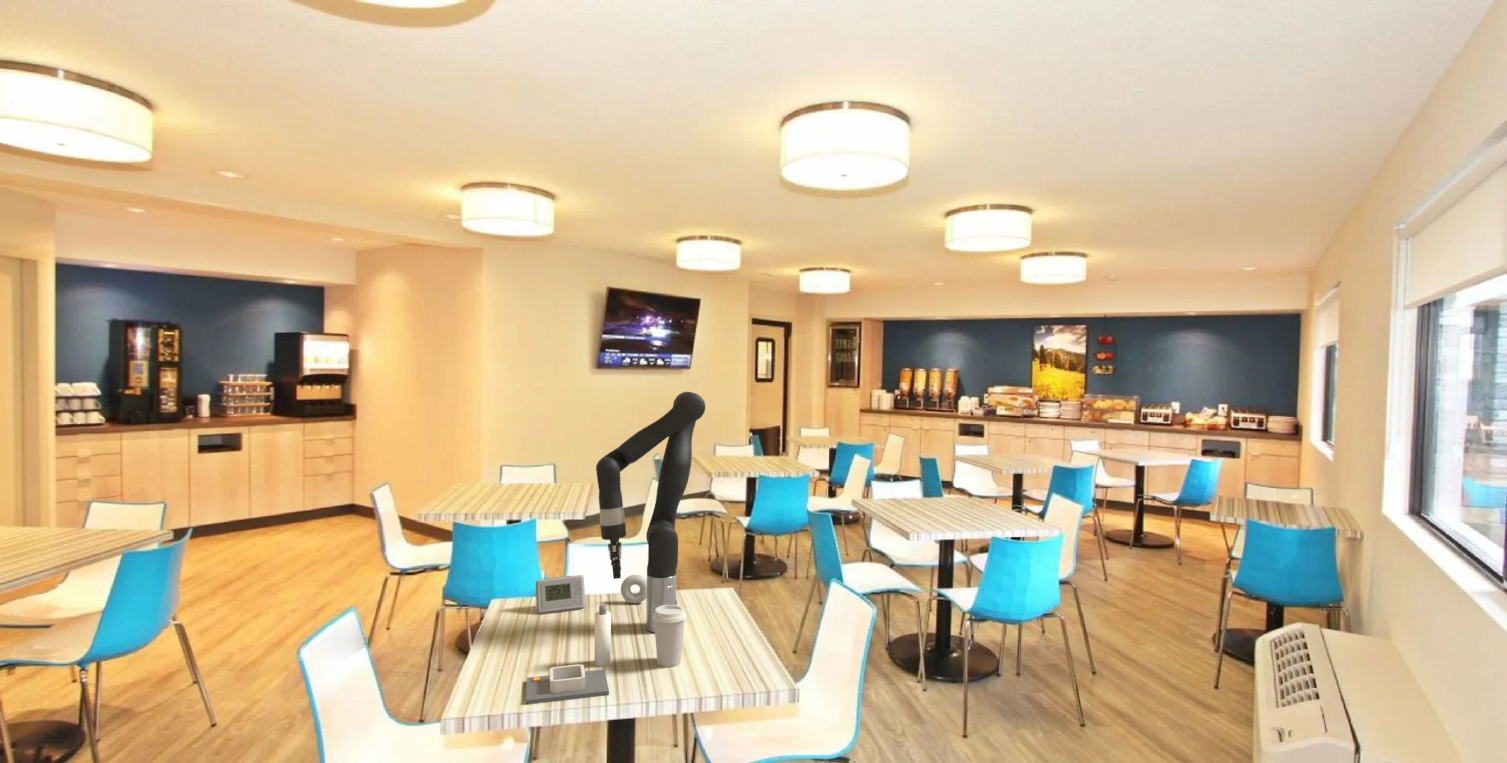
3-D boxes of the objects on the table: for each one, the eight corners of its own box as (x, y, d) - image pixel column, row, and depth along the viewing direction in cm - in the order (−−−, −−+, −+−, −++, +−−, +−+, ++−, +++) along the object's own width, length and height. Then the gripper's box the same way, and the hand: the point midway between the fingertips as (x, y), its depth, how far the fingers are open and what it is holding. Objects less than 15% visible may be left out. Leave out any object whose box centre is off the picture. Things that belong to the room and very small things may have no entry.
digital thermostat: (534, 615, 238) (534, 583, 238) (536, 606, 247) (536, 575, 246) (585, 612, 241) (585, 580, 241) (585, 603, 250) (585, 572, 250)
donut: (649, 601, 253) (650, 573, 253) (649, 604, 249) (649, 576, 249) (621, 601, 252) (621, 573, 252) (619, 605, 249) (620, 576, 248)
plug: (609, 659, 204) (610, 603, 204) (611, 665, 200) (611, 608, 199) (593, 660, 203) (594, 604, 202) (595, 667, 199) (595, 609, 198)
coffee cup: (691, 658, 206) (692, 606, 205) (677, 671, 197) (677, 617, 196) (661, 653, 209) (661, 601, 208) (645, 666, 200) (646, 612, 199)
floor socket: (604, 672, 195) (604, 658, 195) (608, 694, 183) (609, 679, 183) (526, 681, 190) (526, 666, 189) (526, 704, 177) (526, 688, 177)
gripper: (624, 524, 215) (629, 578, 215) (625, 517, 229) (629, 568, 229) (599, 527, 214) (604, 582, 214) (601, 519, 228) (605, 571, 228)
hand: (617, 574), depth 221 cm, fingers open, 8 cm apart
